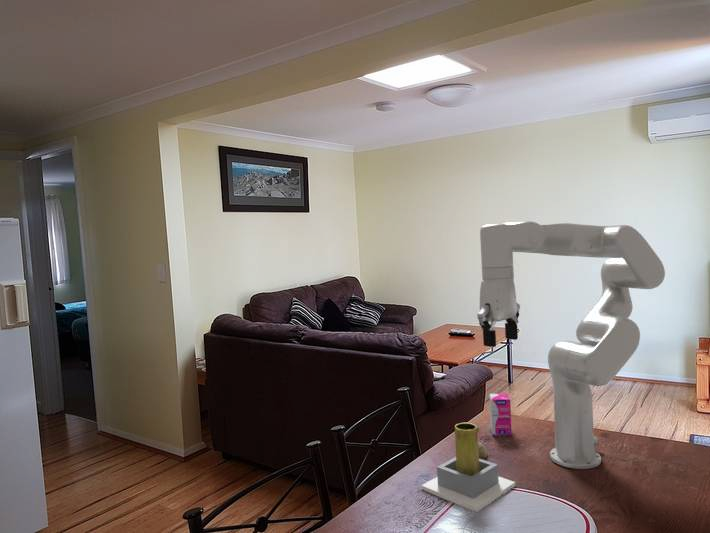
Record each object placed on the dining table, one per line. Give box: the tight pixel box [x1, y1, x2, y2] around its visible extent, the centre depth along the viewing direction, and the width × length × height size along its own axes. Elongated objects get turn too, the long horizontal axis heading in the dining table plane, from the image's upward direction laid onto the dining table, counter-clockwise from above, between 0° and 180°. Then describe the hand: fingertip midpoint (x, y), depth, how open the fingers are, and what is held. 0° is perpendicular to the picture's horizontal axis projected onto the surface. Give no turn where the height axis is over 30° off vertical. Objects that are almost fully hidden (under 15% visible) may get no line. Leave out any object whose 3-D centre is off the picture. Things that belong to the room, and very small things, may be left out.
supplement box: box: [488, 393, 513, 437], centre depth 159 cm, size 6×6×12 cm
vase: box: [454, 422, 480, 476], centre depth 126 cm, size 6×6×14 cm
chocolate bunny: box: [472, 422, 488, 460], centre depth 143 cm, size 6×8×10 cm
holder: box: [421, 456, 516, 513], centre depth 127 cm, size 16×16×6 cm
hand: (501, 342), depth 129 cm, fingers open, 9 cm apart
